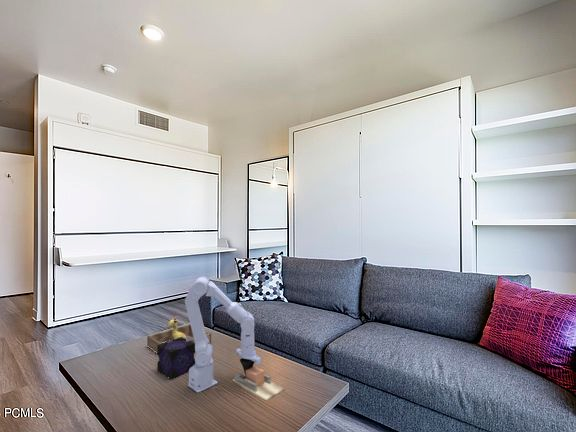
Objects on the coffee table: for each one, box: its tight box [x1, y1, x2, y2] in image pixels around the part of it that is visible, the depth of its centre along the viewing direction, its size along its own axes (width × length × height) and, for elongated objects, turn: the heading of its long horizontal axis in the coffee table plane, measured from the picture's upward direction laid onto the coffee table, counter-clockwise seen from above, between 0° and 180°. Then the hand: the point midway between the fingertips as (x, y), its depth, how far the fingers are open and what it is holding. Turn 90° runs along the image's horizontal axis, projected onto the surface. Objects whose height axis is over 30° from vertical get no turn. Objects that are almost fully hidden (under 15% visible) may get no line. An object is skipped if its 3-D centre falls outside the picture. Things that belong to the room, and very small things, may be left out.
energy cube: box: [156, 337, 196, 380], centre depth 137 cm, size 12×12×12 cm
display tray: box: [146, 323, 212, 352], centre depth 163 cm, size 25×23×6 cm
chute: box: [231, 373, 285, 402], centre depth 123 cm, size 10×21×4 cm, turn 48°
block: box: [246, 365, 265, 387], centre depth 124 cm, size 5×6×5 cm
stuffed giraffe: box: [166, 316, 194, 343], centre depth 163 cm, size 16×18×16 cm
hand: (247, 375), depth 127 cm, fingers closed
